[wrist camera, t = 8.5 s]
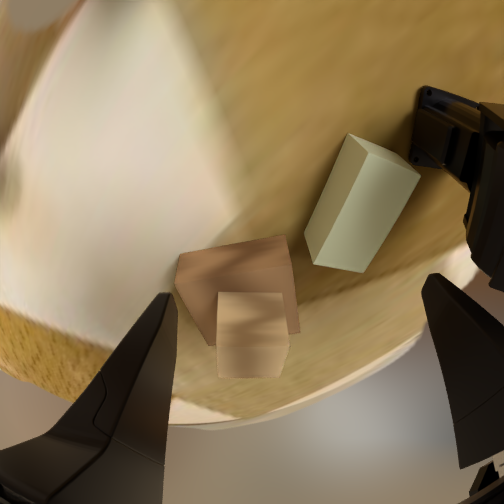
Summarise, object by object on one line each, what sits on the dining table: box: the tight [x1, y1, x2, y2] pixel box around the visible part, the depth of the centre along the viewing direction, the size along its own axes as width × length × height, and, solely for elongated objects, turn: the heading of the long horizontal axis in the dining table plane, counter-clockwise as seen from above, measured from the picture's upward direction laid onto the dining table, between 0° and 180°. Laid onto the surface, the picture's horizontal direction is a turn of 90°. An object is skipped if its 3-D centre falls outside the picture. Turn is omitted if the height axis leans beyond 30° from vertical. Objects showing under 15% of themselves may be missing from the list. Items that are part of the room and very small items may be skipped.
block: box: [304, 133, 421, 273], centre depth 20 cm, size 4×9×4 cm, turn 164°
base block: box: [174, 235, 300, 346], centre depth 26 cm, size 9×9×4 cm
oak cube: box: [216, 292, 290, 378], centre depth 23 cm, size 5×5×5 cm
